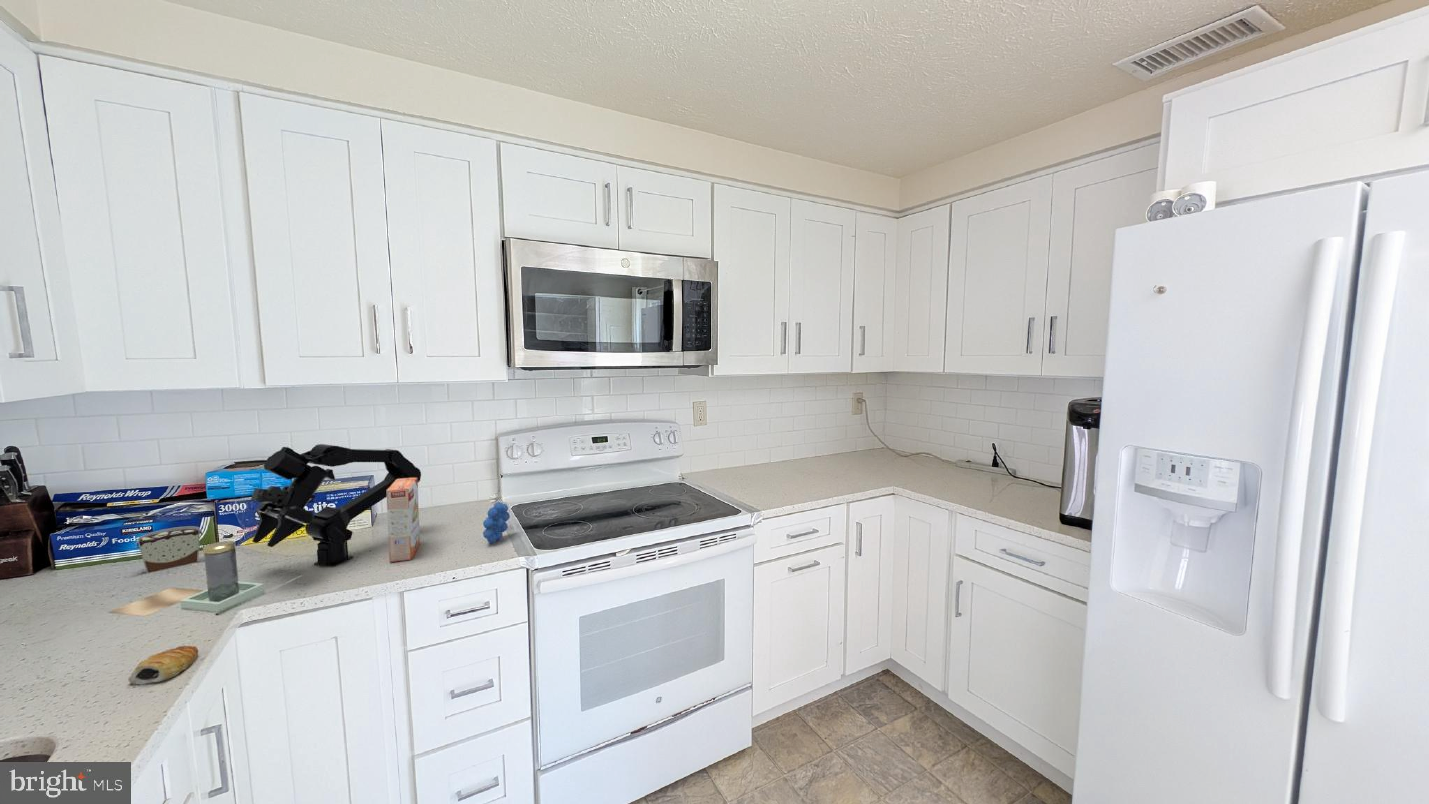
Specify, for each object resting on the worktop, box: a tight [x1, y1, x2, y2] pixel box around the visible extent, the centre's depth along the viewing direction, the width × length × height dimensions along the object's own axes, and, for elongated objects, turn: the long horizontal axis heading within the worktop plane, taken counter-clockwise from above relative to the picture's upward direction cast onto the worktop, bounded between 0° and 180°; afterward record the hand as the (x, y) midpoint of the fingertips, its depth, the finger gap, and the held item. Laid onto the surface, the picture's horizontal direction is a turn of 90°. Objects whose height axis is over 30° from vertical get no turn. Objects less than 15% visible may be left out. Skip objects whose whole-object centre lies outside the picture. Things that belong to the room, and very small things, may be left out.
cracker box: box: [386, 478, 421, 563], centre depth 147 cm, size 14×6×21 cm, turn 22°
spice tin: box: [202, 540, 240, 602], centre depth 118 cm, size 5×5×13 cm
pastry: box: [128, 645, 199, 685], centre depth 94 cm, size 9×7×4 cm
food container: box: [134, 525, 204, 574], centre depth 137 cm, size 12×6×10 cm, turn 141°
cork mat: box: [107, 587, 206, 617], centre depth 118 cm, size 12×10×1 cm
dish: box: [180, 581, 265, 616], centre depth 119 cm, size 10×10×2 cm
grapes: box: [482, 501, 511, 544], centre depth 158 cm, size 12×7×12 cm, turn 168°
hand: (261, 544), depth 126 cm, fingers open, 9 cm apart
